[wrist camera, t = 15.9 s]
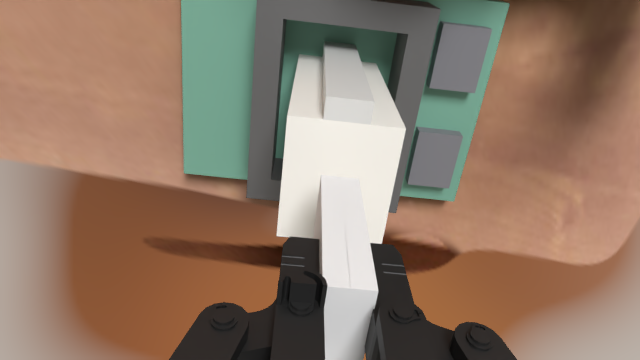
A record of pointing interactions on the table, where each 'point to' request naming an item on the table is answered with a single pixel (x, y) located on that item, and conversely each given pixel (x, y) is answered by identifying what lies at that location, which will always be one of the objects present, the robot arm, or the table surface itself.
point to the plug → (338, 138)
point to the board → (308, 39)
